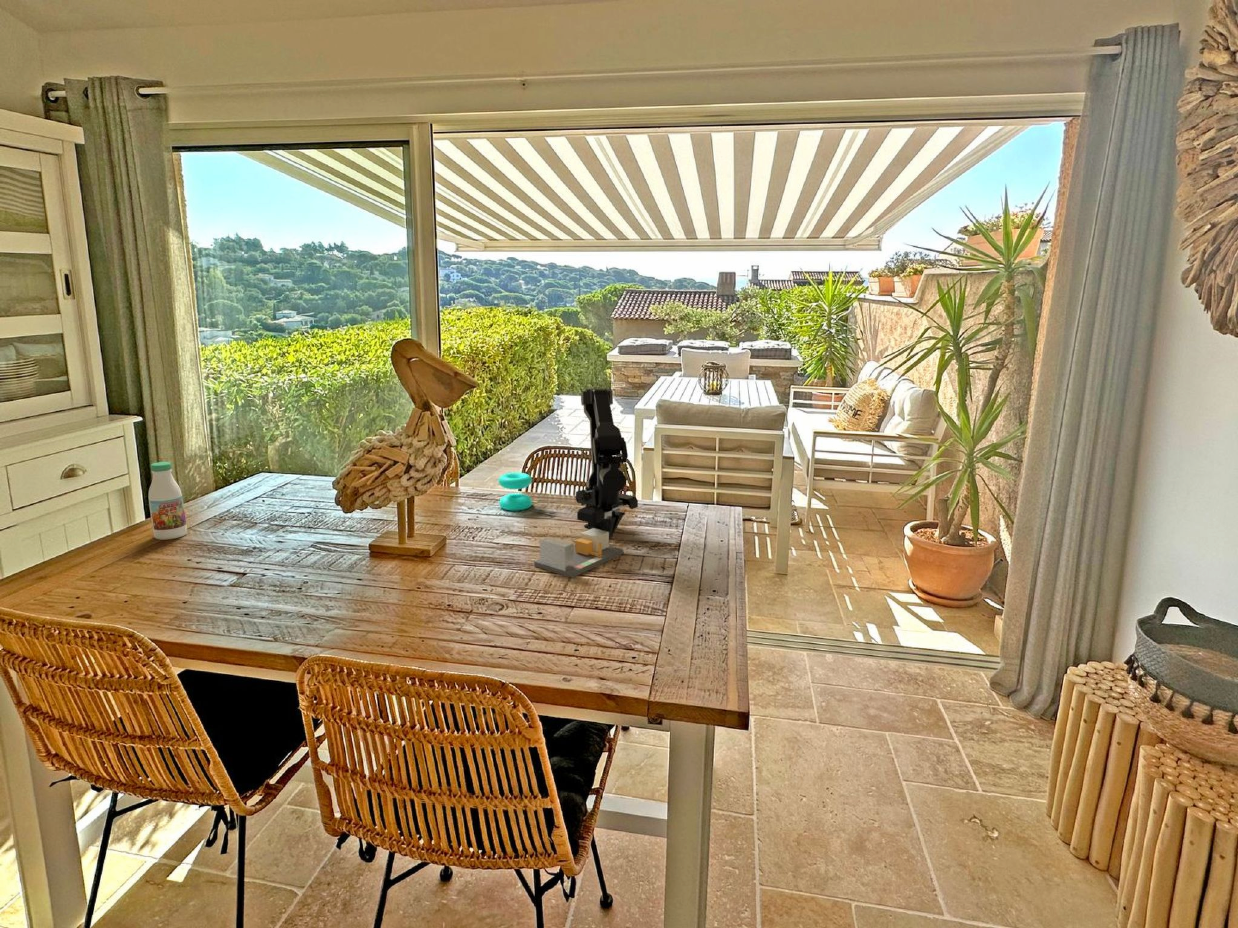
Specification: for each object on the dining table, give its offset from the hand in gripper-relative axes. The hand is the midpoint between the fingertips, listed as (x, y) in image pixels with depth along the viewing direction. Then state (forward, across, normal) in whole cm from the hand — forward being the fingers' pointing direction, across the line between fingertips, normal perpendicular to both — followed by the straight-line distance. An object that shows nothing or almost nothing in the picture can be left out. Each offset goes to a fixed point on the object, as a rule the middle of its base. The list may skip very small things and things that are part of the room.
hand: (608, 539), depth 189 cm
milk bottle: (+2, +65, -98) cm, 118 cm away
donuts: (+2, -11, -44) cm, 45 cm away
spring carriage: (+1, +5, 0) cm, 5 cm away
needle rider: (+1, +10, +2) cm, 10 cm away
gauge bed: (+2, +11, 0) cm, 12 cm away
